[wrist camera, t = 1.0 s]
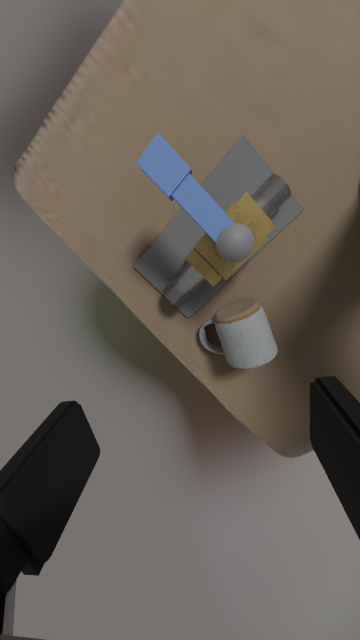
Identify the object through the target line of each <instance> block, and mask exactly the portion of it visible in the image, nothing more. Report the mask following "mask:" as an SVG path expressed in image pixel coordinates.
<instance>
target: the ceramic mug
mask: <svg viewBox="0 0 360 640" xmlns="http://www.w3.org/2000/svg"><path fill="white" fill-rule="evenodd" d="M212 323H215V328H216V331H217V334H218V336H219V339H220V342H221V345H222V348H218V347H215V346H213V345H211V344H210V343H209V342H208V340H207V337H206V333H205V332H206V330H205V329H204V328H205V326H206V325H208V324H212ZM199 338H200V341H201V343H202V345H203V346H204V347H205V348H206V349H207V350H209V351H211V352H213V353H216V354H223V355H225V357H226V360H227V362H228V364H229V365H230V366H232V367H234V368H238V369H251V368H256V367H260V366H262V365H264V364H266V363H268V362H270V361H271V360H273V358H274V357H275V356H276V355H277V352H278V348H277V345H276V342H275V340H274V337H273V334H272V331H271V328H270V326H269V323H268V320H267V317H266V314H265V312H264V310H263V308H262V306H261V304H260V303H259V302H257V301H254V300H244V301H240V302H236V303H233V304H231V305H228V306H226V307H224V308H223V309H221V310H220V311H218V312H217V314H216V315H215V318H212V319H209V320H207V321H206V322H205V323H204V324H203V325H202V326H201V328H200V331H199Z"/></svg>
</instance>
